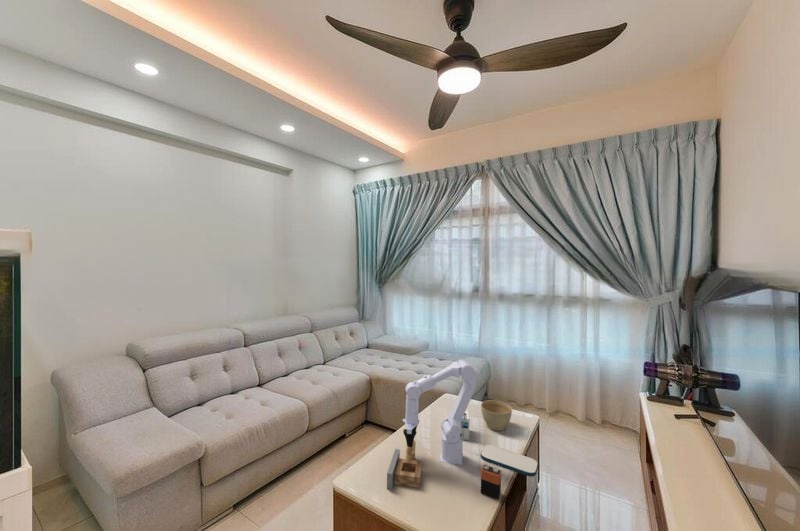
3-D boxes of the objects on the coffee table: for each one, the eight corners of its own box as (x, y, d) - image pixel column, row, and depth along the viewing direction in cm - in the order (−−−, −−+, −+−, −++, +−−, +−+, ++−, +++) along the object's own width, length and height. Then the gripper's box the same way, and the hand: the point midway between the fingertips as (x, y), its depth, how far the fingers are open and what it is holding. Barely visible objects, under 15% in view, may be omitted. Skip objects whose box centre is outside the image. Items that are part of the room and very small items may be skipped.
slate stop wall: (399, 464, 135) (399, 449, 135) (391, 490, 120) (392, 474, 119) (394, 463, 136) (395, 448, 136) (386, 489, 120) (387, 473, 120)
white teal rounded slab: (478, 459, 141) (478, 455, 141) (485, 447, 151) (485, 443, 151) (535, 480, 129) (535, 475, 129) (538, 464, 138) (539, 460, 138)
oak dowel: (415, 457, 140) (416, 440, 140) (414, 463, 136) (414, 445, 136) (406, 456, 141) (407, 439, 141) (405, 462, 137) (405, 444, 137)
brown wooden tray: (422, 471, 130) (422, 461, 130) (419, 488, 121) (419, 477, 121) (398, 467, 132) (399, 458, 132) (394, 483, 122) (394, 473, 122)
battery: (498, 500, 116) (499, 473, 116) (480, 493, 119) (481, 467, 119) (500, 493, 120) (501, 467, 120) (483, 486, 123) (483, 461, 123)
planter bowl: (514, 424, 172) (515, 405, 172) (507, 438, 158) (508, 416, 158) (485, 416, 181) (486, 397, 180) (476, 428, 167) (477, 408, 167)
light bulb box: (469, 440, 155) (469, 419, 155) (455, 438, 156) (456, 417, 156) (468, 429, 165) (469, 409, 165) (455, 427, 167) (456, 407, 167)
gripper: (405, 402, 146) (404, 431, 146) (400, 417, 132) (399, 449, 132) (420, 404, 145) (419, 433, 145) (416, 419, 131) (415, 452, 131)
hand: (411, 441), depth 138 cm, fingers open, 7 cm apart
